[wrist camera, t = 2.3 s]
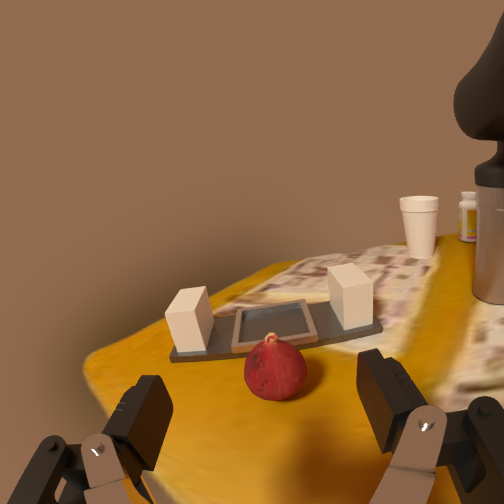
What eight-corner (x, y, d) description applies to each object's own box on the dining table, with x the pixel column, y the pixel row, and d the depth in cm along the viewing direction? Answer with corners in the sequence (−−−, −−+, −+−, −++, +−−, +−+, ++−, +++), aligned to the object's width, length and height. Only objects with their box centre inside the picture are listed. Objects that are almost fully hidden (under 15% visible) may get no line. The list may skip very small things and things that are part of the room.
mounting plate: (357, 300, 42) (357, 289, 41) (382, 333, 32) (383, 320, 31) (187, 325, 44) (184, 315, 43) (170, 364, 33) (166, 352, 33)
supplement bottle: (483, 240, 54) (483, 192, 50) (472, 244, 53) (472, 194, 50) (466, 235, 60) (465, 190, 57) (454, 239, 59) (453, 192, 56)
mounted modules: (353, 298, 41) (352, 262, 39) (372, 323, 33) (372, 281, 31) (190, 323, 42) (181, 288, 41) (177, 352, 34) (164, 313, 33)
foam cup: (399, 249, 61) (396, 197, 58) (433, 247, 57) (431, 195, 54) (406, 262, 52) (404, 202, 49) (443, 259, 49) (443, 199, 46)
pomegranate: (265, 426, 21) (250, 362, 19) (242, 392, 27) (226, 331, 25) (319, 400, 23) (315, 335, 21) (290, 372, 29) (282, 311, 27)
